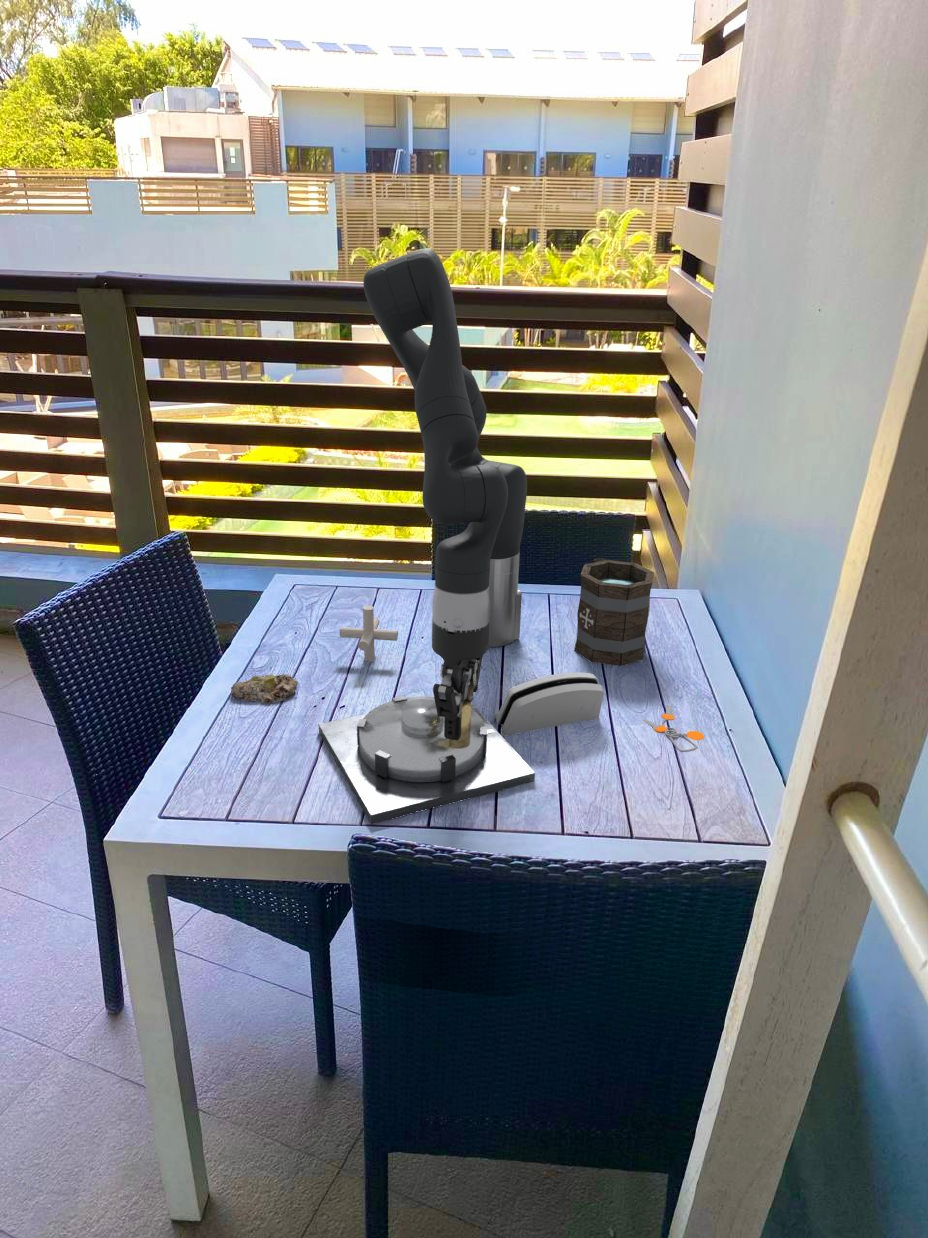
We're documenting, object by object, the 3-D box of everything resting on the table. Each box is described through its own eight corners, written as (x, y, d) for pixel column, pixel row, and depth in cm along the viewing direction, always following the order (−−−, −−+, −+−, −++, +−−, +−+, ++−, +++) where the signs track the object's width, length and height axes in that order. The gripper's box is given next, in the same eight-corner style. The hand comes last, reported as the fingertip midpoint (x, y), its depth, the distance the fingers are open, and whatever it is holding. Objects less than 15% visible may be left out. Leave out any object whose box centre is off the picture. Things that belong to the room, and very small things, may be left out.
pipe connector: (401, 648, 157) (401, 598, 153) (392, 674, 148) (391, 621, 144) (347, 645, 158) (346, 594, 154) (335, 670, 149) (332, 617, 145)
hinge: (584, 702, 141) (600, 660, 134) (597, 724, 138) (613, 682, 131) (490, 720, 135) (501, 676, 129) (501, 743, 132) (513, 700, 126)
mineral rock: (295, 665, 146) (297, 675, 139) (298, 690, 147) (300, 701, 139) (230, 673, 144) (228, 683, 136) (233, 698, 145) (231, 710, 137)
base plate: (462, 701, 140) (462, 693, 140) (534, 781, 121) (535, 772, 120) (318, 732, 131) (318, 723, 130) (371, 824, 111) (371, 814, 111)
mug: (657, 664, 154) (667, 586, 148) (583, 667, 152) (590, 589, 146) (624, 618, 172) (632, 547, 165) (558, 621, 170) (563, 549, 164)
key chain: (717, 747, 130) (718, 743, 130) (674, 755, 128) (675, 751, 128) (672, 706, 141) (673, 702, 141) (632, 713, 139) (633, 708, 139)
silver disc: (332, 753, 123) (329, 698, 119) (412, 701, 137) (412, 650, 133) (433, 799, 113) (434, 741, 110) (509, 737, 127) (511, 684, 124)
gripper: (452, 595, 120) (449, 704, 127) (413, 632, 108) (412, 751, 115) (504, 603, 118) (498, 714, 125) (470, 641, 106) (465, 762, 113)
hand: (457, 731), depth 120 cm, fingers closed on silver disc, 3 cm apart
